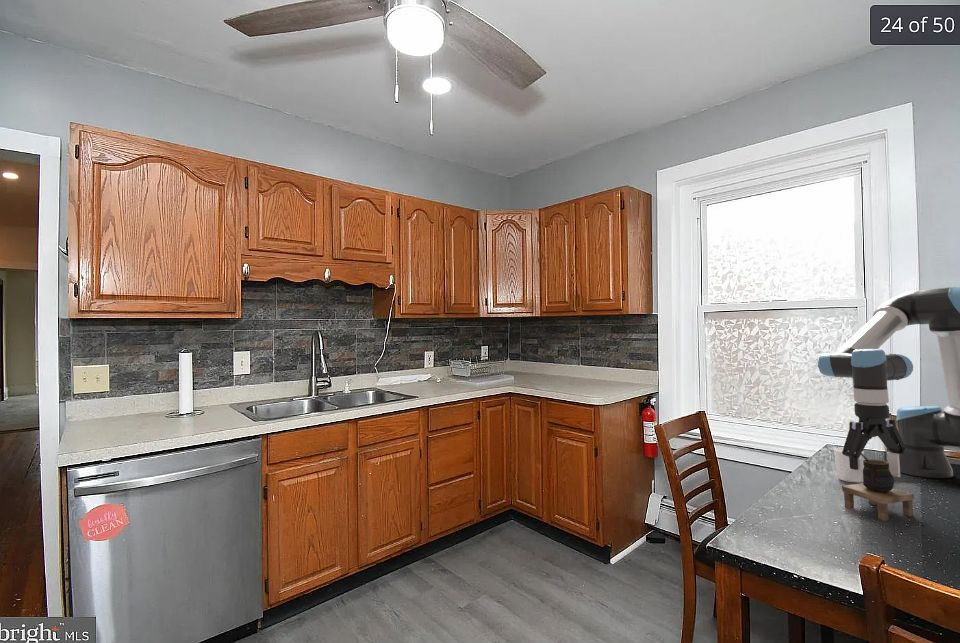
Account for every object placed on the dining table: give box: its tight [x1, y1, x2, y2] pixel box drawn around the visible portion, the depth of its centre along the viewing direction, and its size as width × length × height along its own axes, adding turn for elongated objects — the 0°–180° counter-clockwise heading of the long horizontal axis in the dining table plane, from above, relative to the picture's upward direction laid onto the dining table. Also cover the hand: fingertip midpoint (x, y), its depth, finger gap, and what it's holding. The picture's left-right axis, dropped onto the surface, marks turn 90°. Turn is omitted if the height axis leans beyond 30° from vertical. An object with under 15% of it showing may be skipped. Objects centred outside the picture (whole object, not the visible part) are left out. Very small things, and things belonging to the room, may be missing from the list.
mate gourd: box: [861, 453, 895, 492], centre depth 129 cm, size 7×8×10 cm
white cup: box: [833, 447, 865, 483], centre depth 156 cm, size 8×8×10 cm
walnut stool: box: [841, 482, 915, 522], centre depth 129 cm, size 11×11×6 cm
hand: (876, 478), depth 129 cm, fingers open, 13 cm apart
